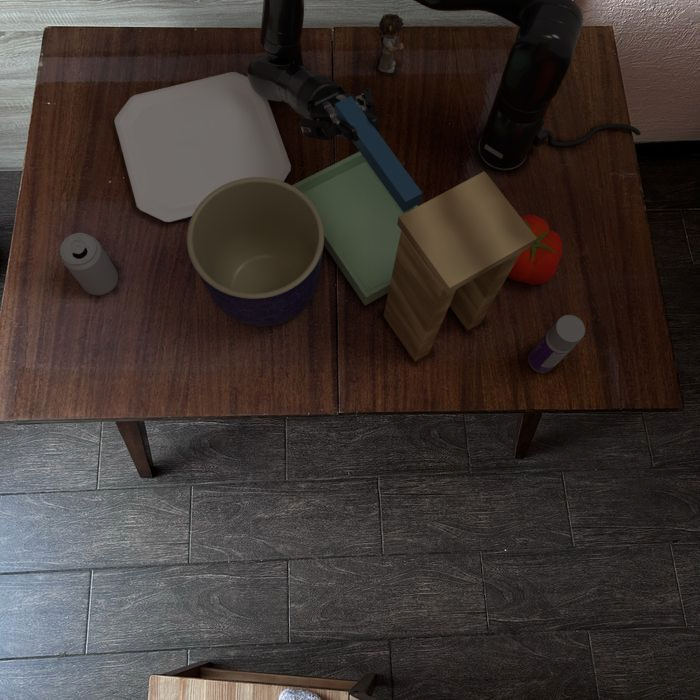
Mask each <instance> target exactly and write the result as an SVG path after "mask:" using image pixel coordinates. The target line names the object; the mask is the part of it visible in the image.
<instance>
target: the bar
mask: <svg viewBox="0 0 700 700" xmlns="http://www.w3.org/2000/svg"><path fill="white" fill-rule="evenodd" d="M335 112H336V114H337V116H338V117H340V118H341V120H342V121H345V122H347V123H348V124H350V125H352V126H353V127H355V129H356V131H357V136H358V141H356V142H353V141H352V143H353V144H354V146H355V147H356V149H357V150H358V152H359V151H360V152H361V154H362V155H363V157H364V158H365V159H366V161H367V162H368V164H369V165H370V166H371V168H372V169H373V171H374V172H375V173H376V175H377V176H378V178H379V179H380V180H381V182H382V183H383V185H384V186H385V187H386V189H387V190H388V192H389V193H390V194H391V196H392V197H393V199H394V200H395V201H396V203H397V204H398V206H399V207H400V208H401V210H402V211H403V212H405V211H407V210H409V209H411V208H413V207H414V206H416V205H417V206H419V205H421V200H422V197H423V191H421V189H420V188H419V186H418V185H417V183H416V182H415V180H414V179H413V178H412V177H411V175H410V174H409V172H408V171H407V169H406V168H405V166H403V164H402V163H401V162H400V160H399V158H397V156H396V155H395V153H394V152H393V151H392V150H391V148H390V147H389V145H388V144H387V142H386V141H385V140H384V138H383V137H382V135H380V133H379V131H377V130H376V129H375V128H374V126H373V125H372V124H371V122H370V121H369V119H368V118H367V117H366V115H365V114H364V112H363V111H362V110H361V108H360V107H359V106H358V104H357V103H356V102H355V100H354V99H353V97H352V96H350V97H348V98H346V99H344V100H342V101H339V102H337V103H335Z"/></svg>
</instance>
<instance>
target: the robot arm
mask: <svg viewBox="0 0 700 700" xmlns="http://www.w3.org/2000/svg"><path fill="white" fill-rule="evenodd" d="M413 1H414V2H416V3H417V4H419V5H421V6H423V7H425V8H427V9H431V10H434V11H440V12H463V11H465V12H466V11H467V12H468V11H478V12H479V11H480V12H486V13H490V14H493V15H496V16H498V17H500V18H503V19H505V20H507V21H509V22H510V23H512V24H514V25H515V26H517V27H518V29H517V31H516V32H517V33H516V34H515V36H514V37H515V38H514V40H513V43H512V46H511V49H510V51H509V55H508V57H507V60H506V63H505V66H504V69H503V72H502V74H501V77H500V82H499V83H498V87H497V90H496V93H495V97H494V99H493V102H492V106H491V108H490V110H489V114H488V118H487V120H486V123H485V125H484V129H483V131H482V134H481V137H480V139H479V140H478V141H479V142H478V145H477V153H478V157H479V159H480V160H481V162H482V163H483V164H484V165H485V166H486V167H488V168H489V169H492V170H493V171H497V172H502V173H507V172H513V171H515V170H517V169H519V168H521V166H523V164H524V163H525V162H526V159H527V157H528V155H529V154H531V152H532V150H533V147H534V148H538V147H540V146H542V145H544V144H545V142H546V139H547V138H548V139H547V141H548V143H549V144H550V145H551V146H553V147H557V148H567V147H572V146H573V147H574V146H578V145H580V144H583V143H585V142H587V141H588V140H589V139H590V138H591V137H592V136H594V134H596V133H597V132H599V131H603V130H609V129H621V130H626V131H630V132H632V133H633V134H635V135H636V136H641V131H640V130H639V129H638V128H637V127H635V126H632V125H629V124H626V123H625V124H624V123H606V124H601V125H598V126H595V127H593V128H592V129H590V131H589V132H588V133H587V134H585V135H584V136H583V137H581V138H578V139H575V140H570V141H563V142H562V141H556V140H554V135H553V133H552V131H550V130H549V129H544V128H543V126H544V124H545V119H544V118H545V116H546V114H547V111H548V109H549V107H550V105H551V103H552V101H553V99H554V98H555V97H556V95H557V94H558V92H559V89H560V87H561V85H562V83H563V81H564V79H565V77H566V75H567V73H568V71H569V68H570V66H571V64H572V61H573V58H574V55H575V51H576V48H577V45H578V41H579V39H580V35H581V32H582V29H583V26H584V25H583V24H584V16H583V12H582V9H581V8H580V6H579V4H577V2H575V0H413ZM261 12H262V13H261V23H260V24H261V25H260V43H261V46H262V48H263V49H264V50H265V52H267V54H266V53H265V54H262V55H257V56H256V57H254V58H252V60H251V61H250V62H249V64H248V66H247V77H248V80H249V83H250V85H251V87H252V88H253V90H254V91H255V92H256V93H257V94H258V95H259V96H261V97H263V98H265V99H267V100H268V101H273V102H277V103H278V102H279V103H285V104H286V105H288V106H289V107H290V108H291V109H293V111H294V112H295V113H296V114H298V115H299V116H300V117H302V119H300V120H299V126H300V128H301V131H302V135H303V136H304V137H306V138H313V139H319V140H325V141H332V140H333V139H334V136H337V137H338V138H343V139H345V140H346V141H349V142H352V143H353V142H356V141H358V136H357V131H356V129H355V127H353V126H352V125H350V124H348V123H347V122H345V121H342V120H341V118H340V117H338V116H337V114H336V112H335V103H337V102H339V101H342V100H344V99H346V98H348V97H350V96H352V97H353V99H354V100H355V102H356V103H357V104H358V106H359V107H360V108H361V110H362V111H363V112H364V114H365V115H366V117H367V118H368V119H369V121H370V122H371V124H372V125H373V126H374V128H375V129H376V130H377V132H379V127H380V123H379V120H378V119H379V118H378V114H377V109H376V106H375V105H376V104H375V100H374V97H373V92H372V88H370V87H367V88H364V89H363V93H361V94H360V95H356V94H354V93H349V92H346V90H345V89H344V88H343V87H342V86H341V85H340V84H338V83H337V82H335V81H334V80H331V79H330V78H328V77H327V76H324V75H323V74H321V73H319V72H317V71H313V70H312V69H310V68H308V67H307V66H306V65H305V62H304V57H303V50H302V34H303V27H304V20H305V19H304V18H305V0H263V1H262V11H261Z"/></svg>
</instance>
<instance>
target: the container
mask: <svg viewBox="0 0 700 700" xmlns="http://www.w3.org/2000/svg"><path fill="white" fill-rule="evenodd" d="M585 334H586V327H585V324H584V322H583V321H582V319H581V318H579V317H578V316H575V315H574V314H564V315H563V316H561V317H560V318H558V319H557V320H556V322H554V323H553V325H552V326H551V327H550V328H549V329H548V330H547V331H546V333H545V334H544V335H543V336H542V337H541V339H540V340H539V341H538V342H537V343H536V344H535V346H534V347H533V348H532V349H531V350H530V352H529V354H528V357H527V360H528V361H527V362H528V364H529V366H530V367H531V368H532V370H534V371H535V372H537V373H541V374H545V373H549V372H551V371H552V370H553V369H554V368H555V367H556V366H557V365H558V364H559V363H560V362H561V361H562V360H563V359H564V358H565V357H566V356H567V355H568V354H569V353H570V352H571V351H572V350H573V349H574V348H575V346H577V345H578V343H580V341H581V340H582V339H583V338H584V336H585Z"/></svg>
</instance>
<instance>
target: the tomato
mask: <svg viewBox="0 0 700 700" xmlns="http://www.w3.org/2000/svg"><path fill="white" fill-rule="evenodd" d="M519 216H520V217H521V218H522V220H523V221H524V222H525V224H526V225H527V226H528V227H529V229H530V230H531V231H532V233H533V234H534V235H535V236H536V238H537V239H536V241H535V243H534V244H533V246H531V247H529V248H528V249H526V250H524V251H522V252H521V254H520V255H519V257H518V259H517V261H516V262H515V264H514V266H513V268H512V269H511V271H510V273H509V275H508V276H507V278H508V279H510V280H513V281H514V282H518V283H525V284H528V285H531V286H538V285H543V284H545V283H547V282H549V281H550V280H552V279H553V278H554V277H555V275H556V274H557V270H558V266H559V263H560V261H561V259H562V256H563V241H562V239H561V236H560V234H559V233H557V232H556V231H554V230H552V229H551V228H550V225H549V224H548V221H547V220H545V219H544V218H542V217H540V216H538V215H534V214H530V213H528V214H524V215H519Z"/></svg>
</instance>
